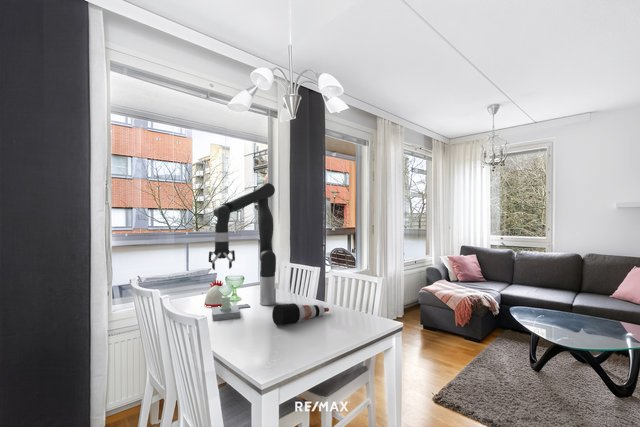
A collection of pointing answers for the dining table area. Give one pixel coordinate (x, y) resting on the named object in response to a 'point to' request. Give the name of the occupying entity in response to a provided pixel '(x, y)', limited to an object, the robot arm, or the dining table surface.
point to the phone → (243, 306)
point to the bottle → (295, 313)
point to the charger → (226, 303)
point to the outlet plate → (225, 313)
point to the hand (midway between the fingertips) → (222, 269)
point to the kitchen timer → (214, 295)
